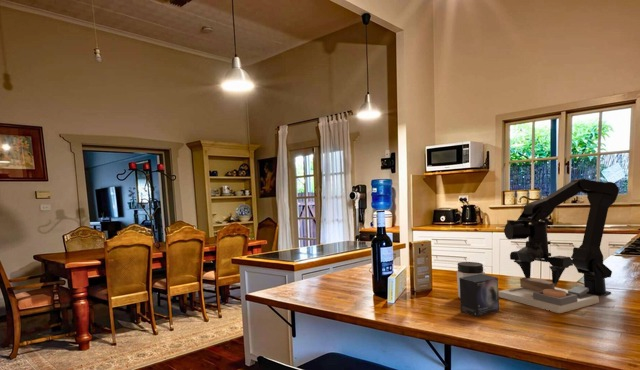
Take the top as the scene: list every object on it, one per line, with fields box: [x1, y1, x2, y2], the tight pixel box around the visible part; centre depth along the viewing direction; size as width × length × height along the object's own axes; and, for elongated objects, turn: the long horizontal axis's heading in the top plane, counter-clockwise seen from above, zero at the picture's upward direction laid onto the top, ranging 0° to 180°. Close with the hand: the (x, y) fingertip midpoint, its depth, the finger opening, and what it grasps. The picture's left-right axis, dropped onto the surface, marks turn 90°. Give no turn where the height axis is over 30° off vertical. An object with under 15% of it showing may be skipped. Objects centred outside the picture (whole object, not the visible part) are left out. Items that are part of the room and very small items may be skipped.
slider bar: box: [519, 276, 556, 291], centre depth 115 cm, size 3×10×3 cm, turn 24°
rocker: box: [567, 285, 589, 296], centre depth 108 cm, size 5×4×1 cm
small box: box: [459, 273, 501, 318], centre depth 103 cm, size 11×6×10 cm, turn 117°
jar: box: [456, 261, 486, 299], centre depth 116 cm, size 9×8×12 cm
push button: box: [543, 289, 566, 298], centre depth 104 cm, size 6×6×2 cm
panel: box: [498, 286, 600, 314], centre depth 111 cm, size 20×20×4 cm
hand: (541, 283), depth 116 cm, fingers open, 9 cm apart
